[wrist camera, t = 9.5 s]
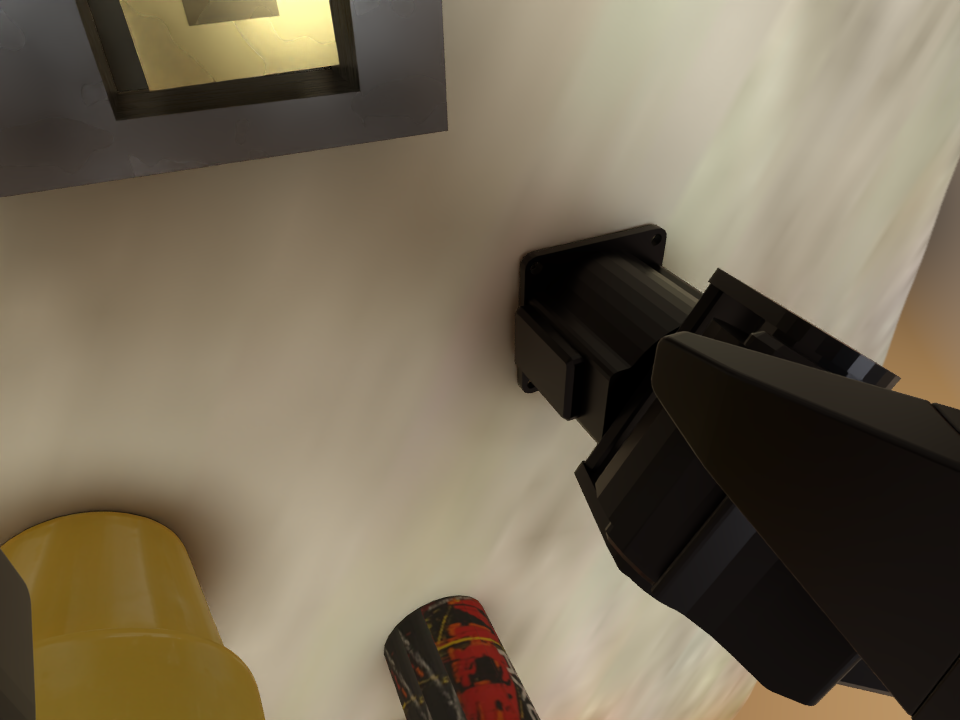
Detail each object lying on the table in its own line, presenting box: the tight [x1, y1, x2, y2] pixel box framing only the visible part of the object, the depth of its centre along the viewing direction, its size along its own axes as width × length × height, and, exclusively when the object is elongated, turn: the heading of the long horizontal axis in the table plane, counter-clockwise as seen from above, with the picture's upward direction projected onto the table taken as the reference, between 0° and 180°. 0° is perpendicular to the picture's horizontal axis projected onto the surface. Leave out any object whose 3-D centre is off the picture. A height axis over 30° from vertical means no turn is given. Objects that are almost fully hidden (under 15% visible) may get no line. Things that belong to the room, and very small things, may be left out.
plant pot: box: [0, 512, 265, 720], centre depth 20 cm, size 10×10×10 cm
